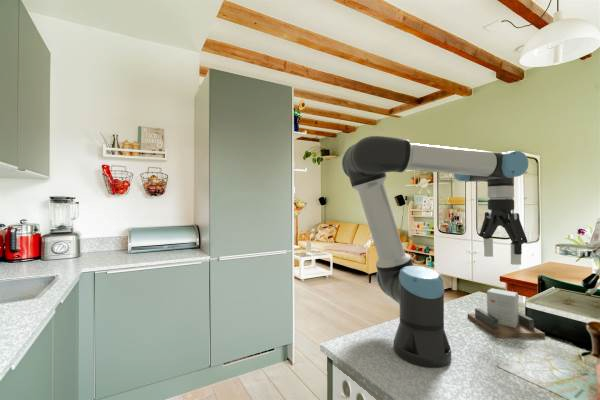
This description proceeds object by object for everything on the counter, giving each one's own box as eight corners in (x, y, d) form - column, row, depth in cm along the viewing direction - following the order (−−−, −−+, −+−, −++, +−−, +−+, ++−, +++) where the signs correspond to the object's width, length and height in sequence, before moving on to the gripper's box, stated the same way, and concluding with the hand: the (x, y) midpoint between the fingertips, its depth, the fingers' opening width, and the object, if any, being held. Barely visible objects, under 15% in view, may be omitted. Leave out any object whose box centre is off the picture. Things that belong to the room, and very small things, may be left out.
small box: (519, 323, 97) (518, 292, 97) (515, 328, 93) (515, 296, 93) (491, 316, 103) (491, 287, 103) (487, 321, 99) (486, 290, 99)
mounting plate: (496, 337, 90) (496, 323, 90) (467, 317, 106) (467, 305, 106) (544, 337, 90) (544, 323, 90) (508, 317, 106) (508, 305, 106)
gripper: (541, 198, 86) (542, 268, 86) (488, 199, 111) (488, 253, 111) (516, 198, 86) (517, 268, 86) (468, 199, 111) (469, 253, 111)
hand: (501, 260), depth 98 cm, fingers open, 13 cm apart
